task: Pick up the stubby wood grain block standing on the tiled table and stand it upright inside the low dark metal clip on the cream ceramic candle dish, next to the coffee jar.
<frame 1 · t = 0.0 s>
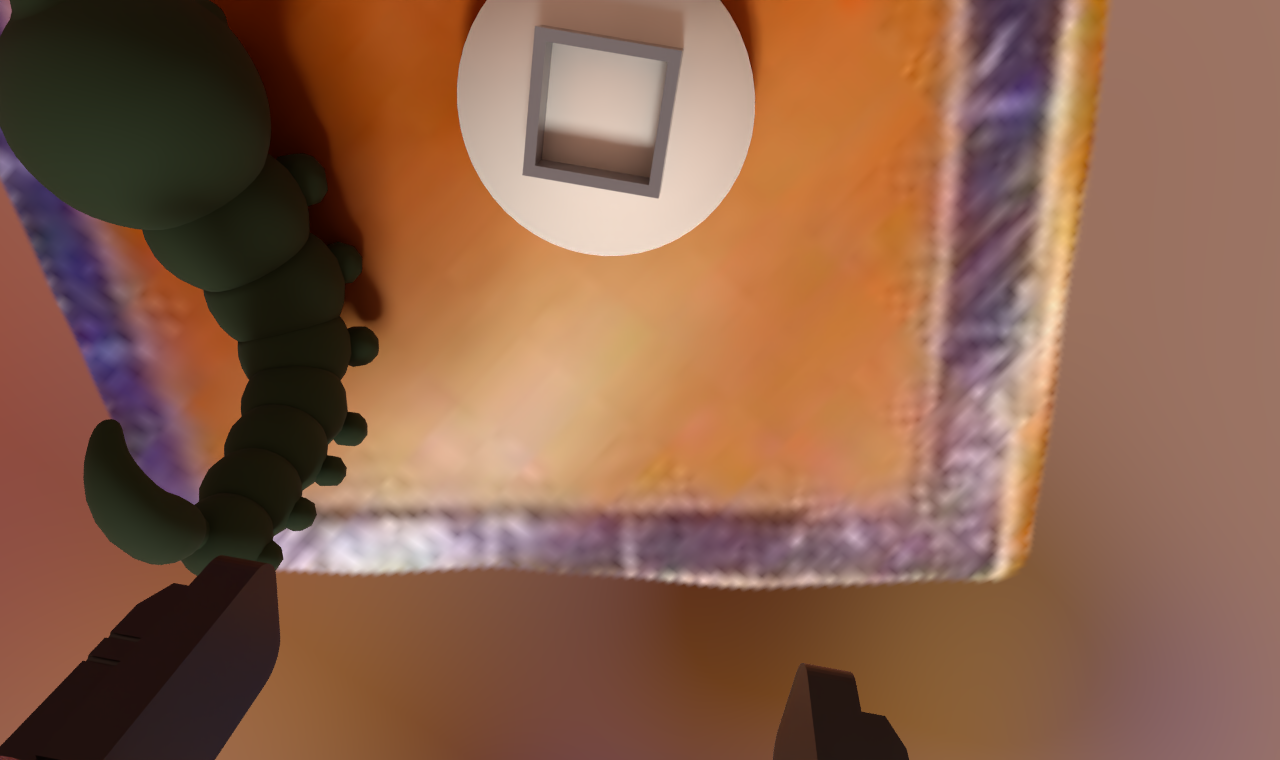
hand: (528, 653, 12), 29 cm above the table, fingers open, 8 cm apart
candle dish: (609, 105, 37), on the table
toy figurine: (278, 195, 40), on the table
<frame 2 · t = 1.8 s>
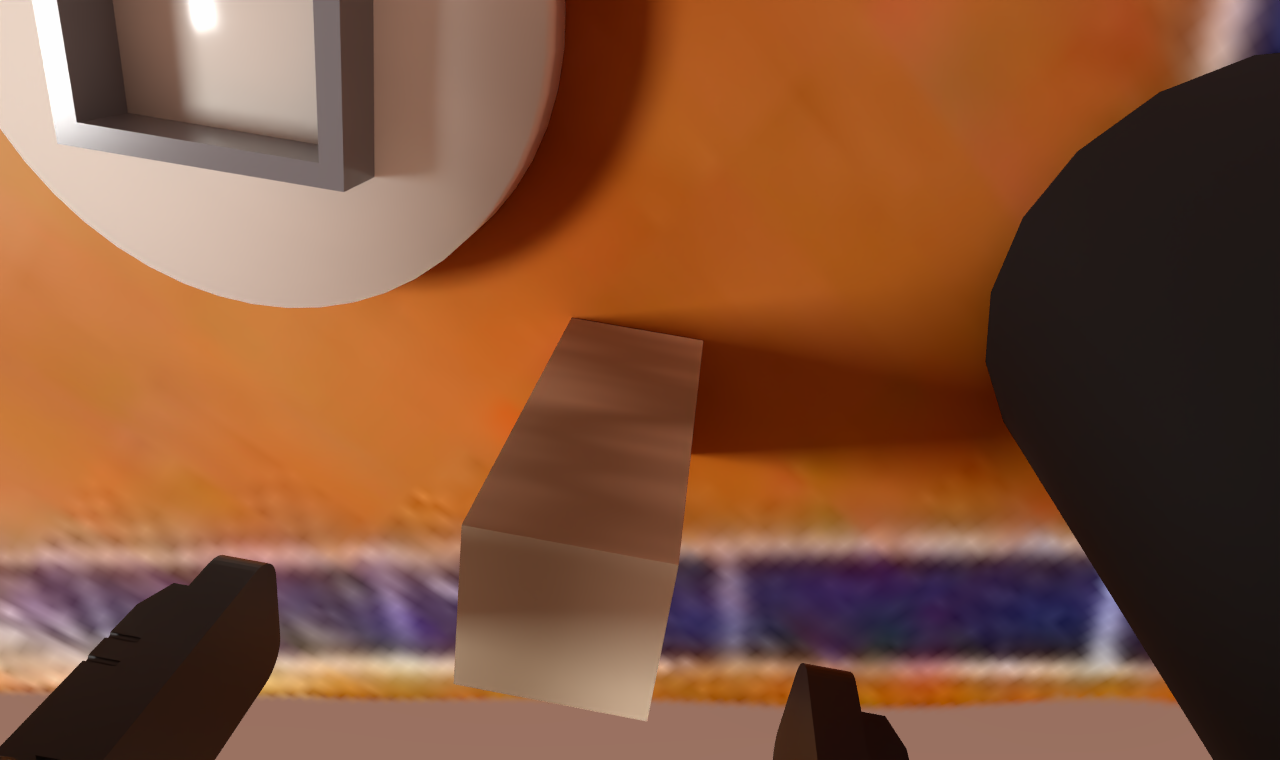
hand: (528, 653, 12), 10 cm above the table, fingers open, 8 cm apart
wood grain block: (628, 388, 21), on the table
coffee jar: (1209, 290, 19), on the table
candle dish: (280, 3, 18), on the table
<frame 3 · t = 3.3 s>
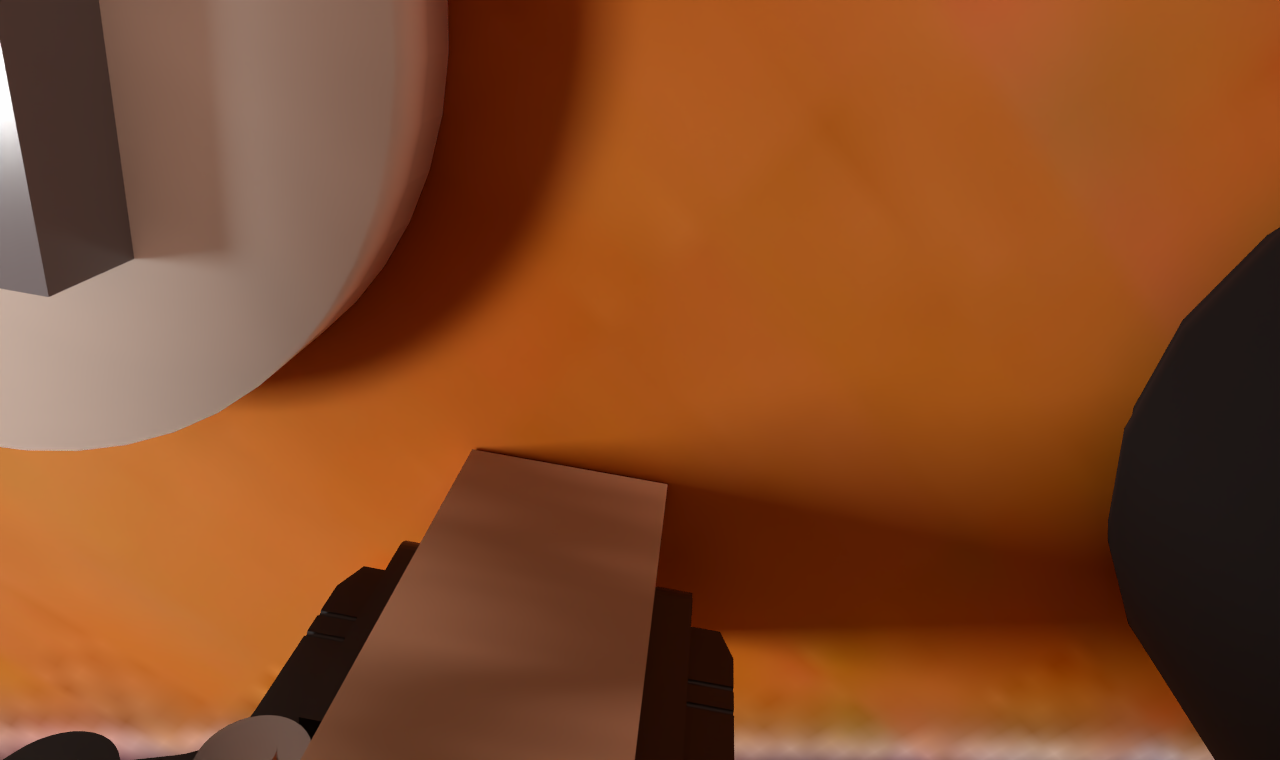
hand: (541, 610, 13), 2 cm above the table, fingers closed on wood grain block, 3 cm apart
wood grain block: (559, 545, 15), on the table, touching gripper
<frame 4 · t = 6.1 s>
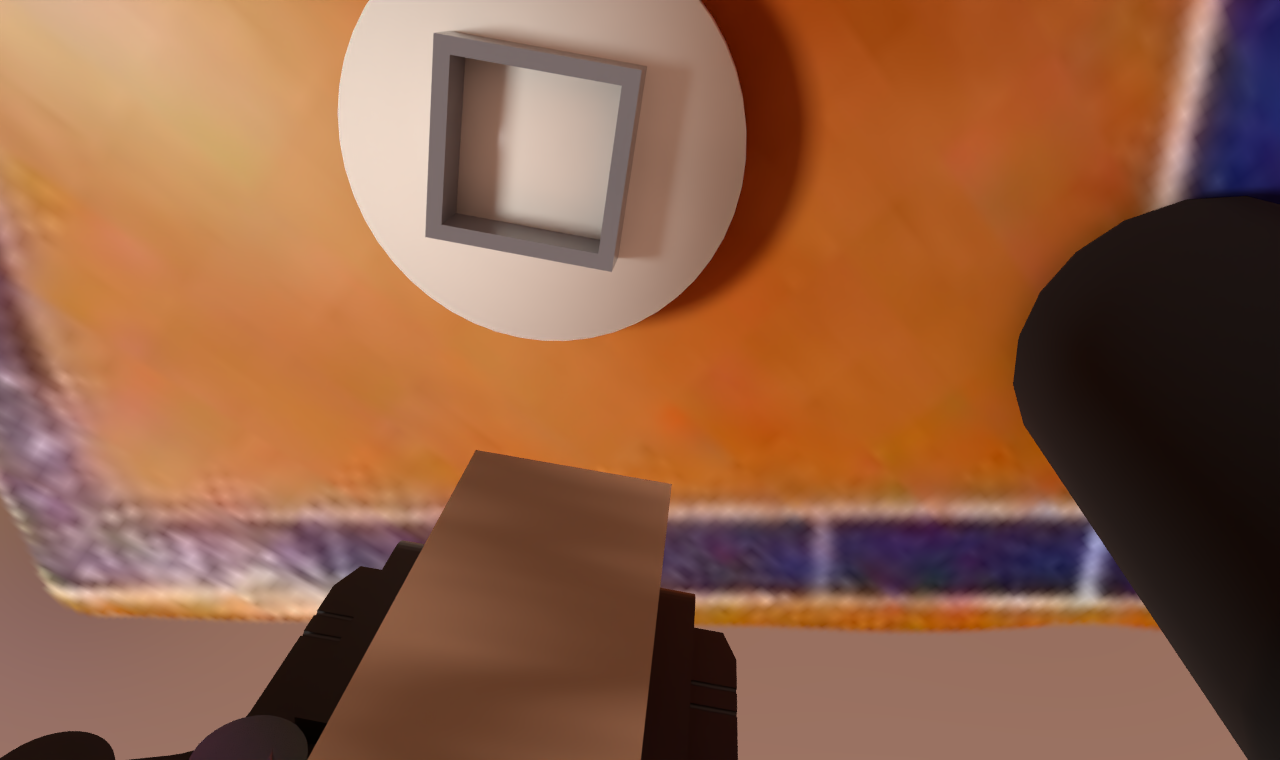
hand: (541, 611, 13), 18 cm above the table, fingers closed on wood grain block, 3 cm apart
wood grain block: (563, 546, 15), point 16 cm above the table, touching gripper
coffee jar: (1162, 339, 28), on the table
candle dish: (551, 139, 27), on the table
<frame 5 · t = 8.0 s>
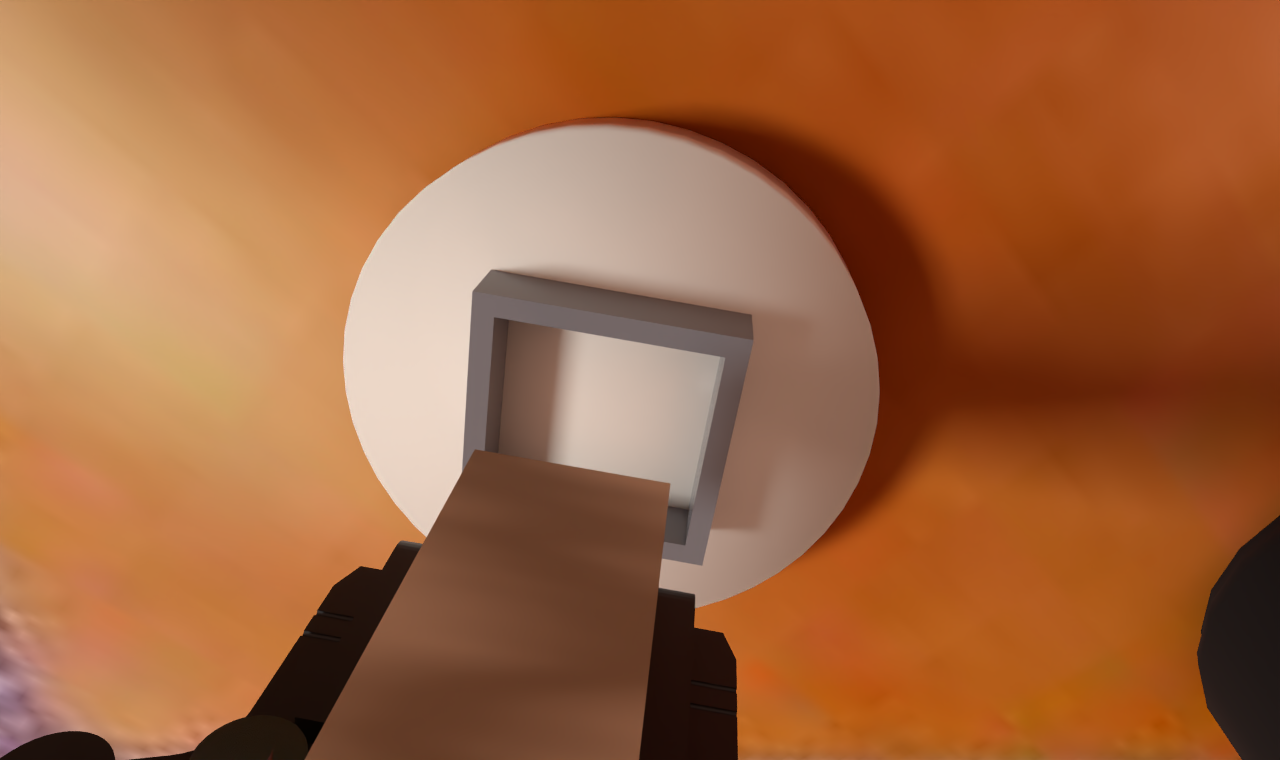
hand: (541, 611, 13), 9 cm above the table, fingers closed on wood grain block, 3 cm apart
wood grain block: (562, 545, 15), point 8 cm above the table, touching gripper
candle dish: (614, 372, 21), on the table
when the fingers open (5 cm above the table, at t = 9.3 s): wood grain block stays where it is, resting on candle dish.
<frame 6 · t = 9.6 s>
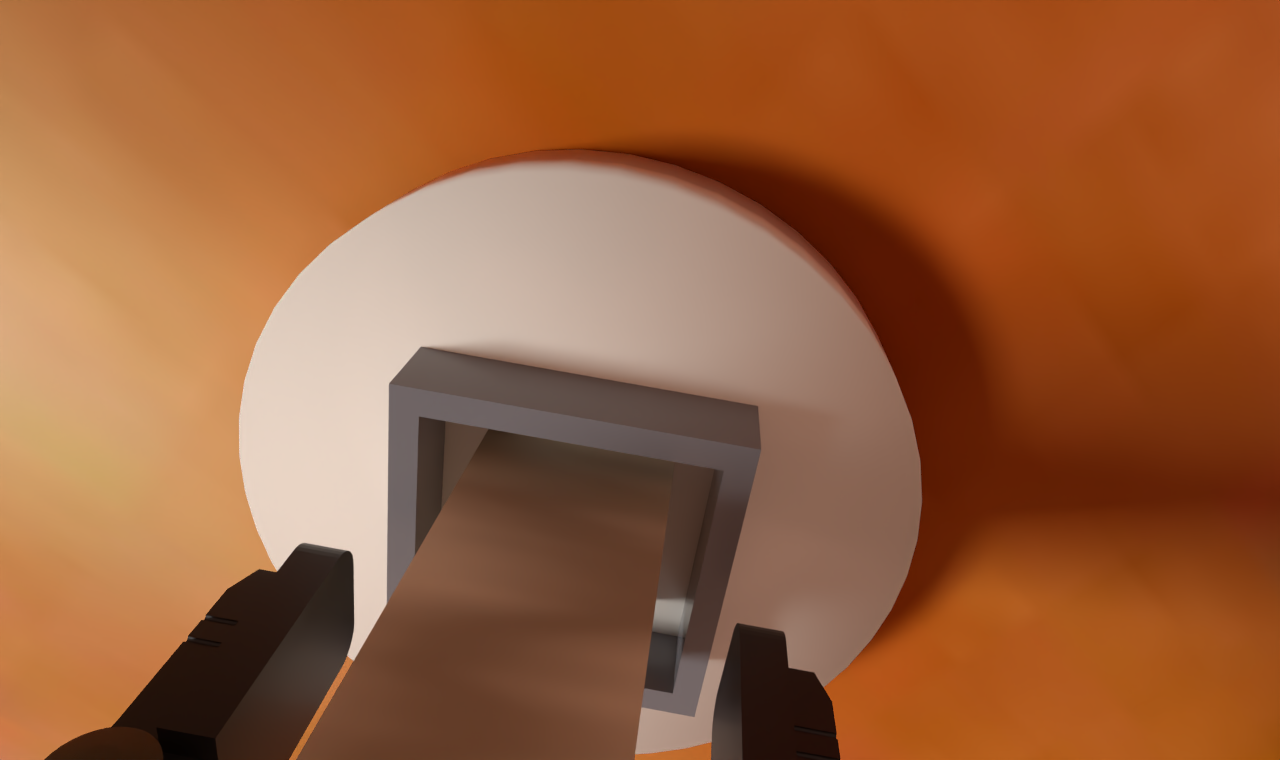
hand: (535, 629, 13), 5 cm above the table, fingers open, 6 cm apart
wood grain block: (573, 515, 15), point 2 cm above the table, touching candle dish
candle dish: (586, 460, 17), on the table
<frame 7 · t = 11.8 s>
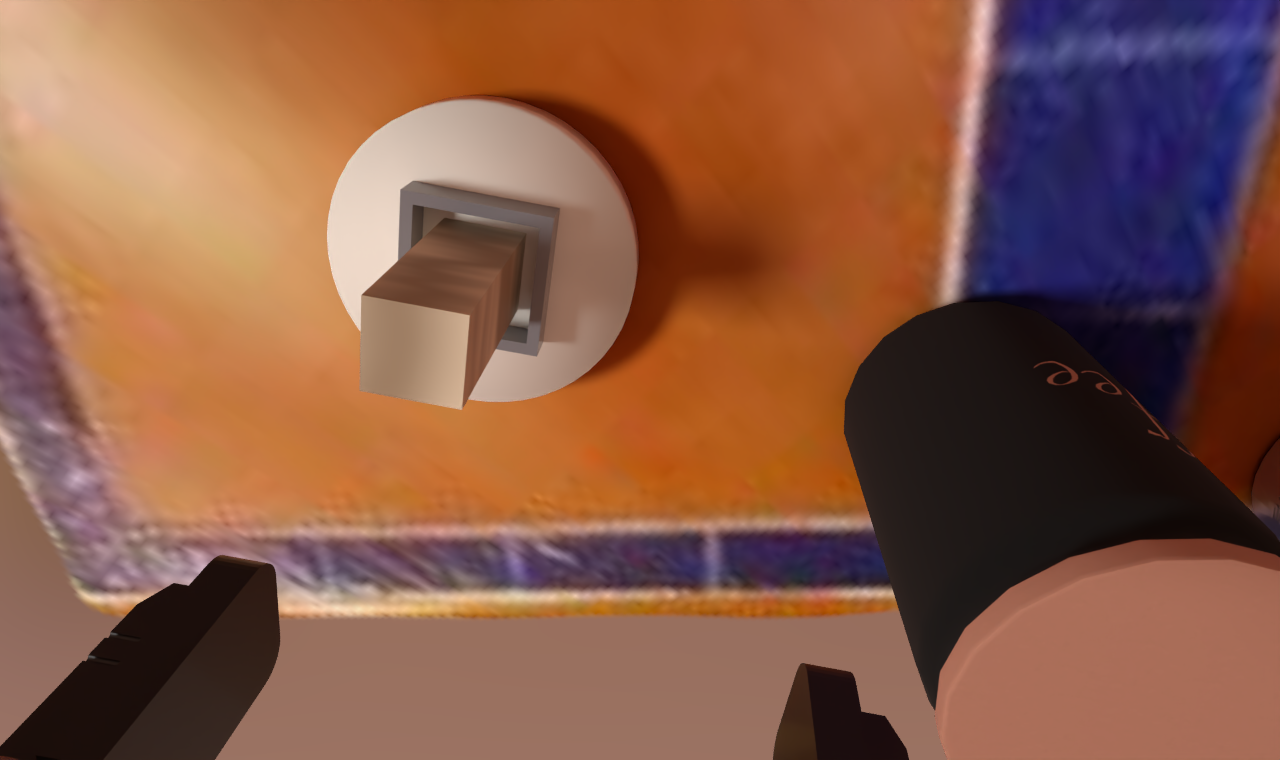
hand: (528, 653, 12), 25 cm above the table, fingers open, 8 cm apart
wood grain block: (482, 264, 34), point 2 cm above the table, touching candle dish
coffee jar: (955, 397, 37), on the table
candle dish: (491, 250, 36), on the table
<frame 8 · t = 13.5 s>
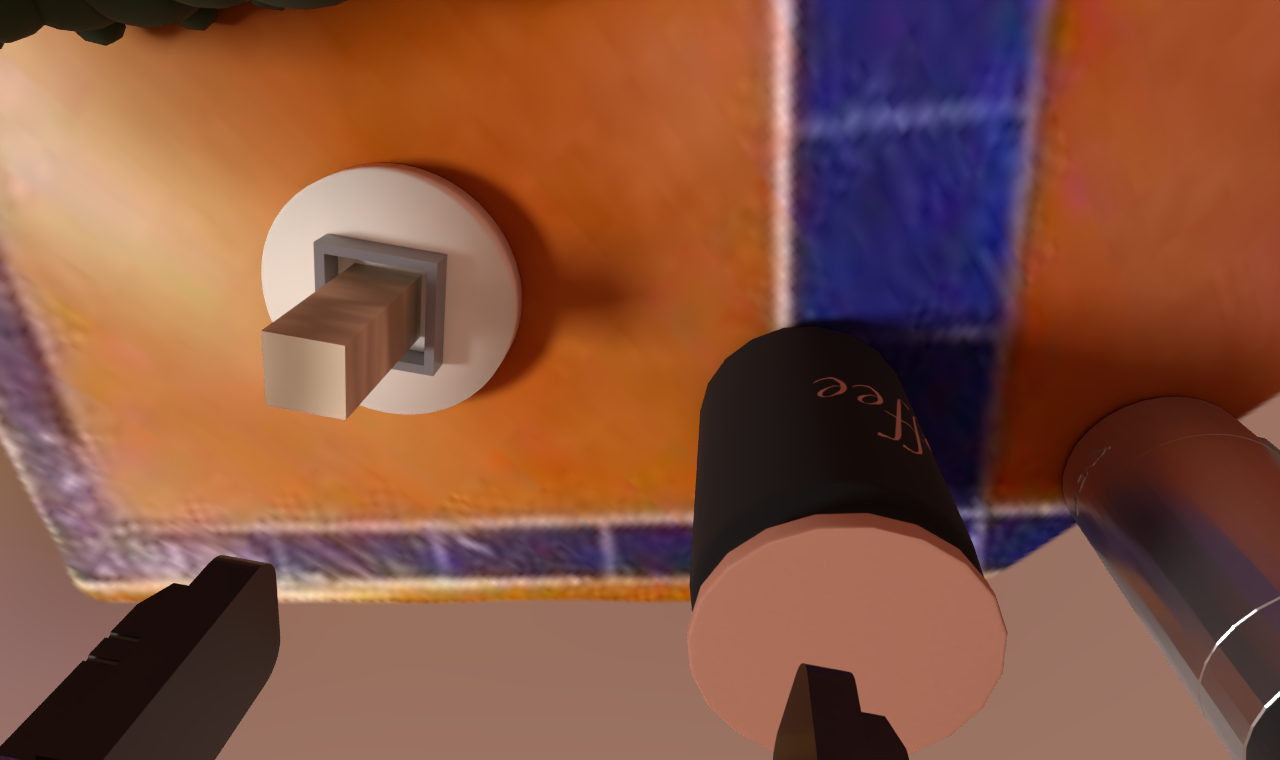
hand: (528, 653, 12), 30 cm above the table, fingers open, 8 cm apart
wood grain block: (387, 300, 41), point 2 cm above the table, touching candle dish
coffee jar: (799, 407, 44), on the table
candle dish: (401, 287, 43), on the table
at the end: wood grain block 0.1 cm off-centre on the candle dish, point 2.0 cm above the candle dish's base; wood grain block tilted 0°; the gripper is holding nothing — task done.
